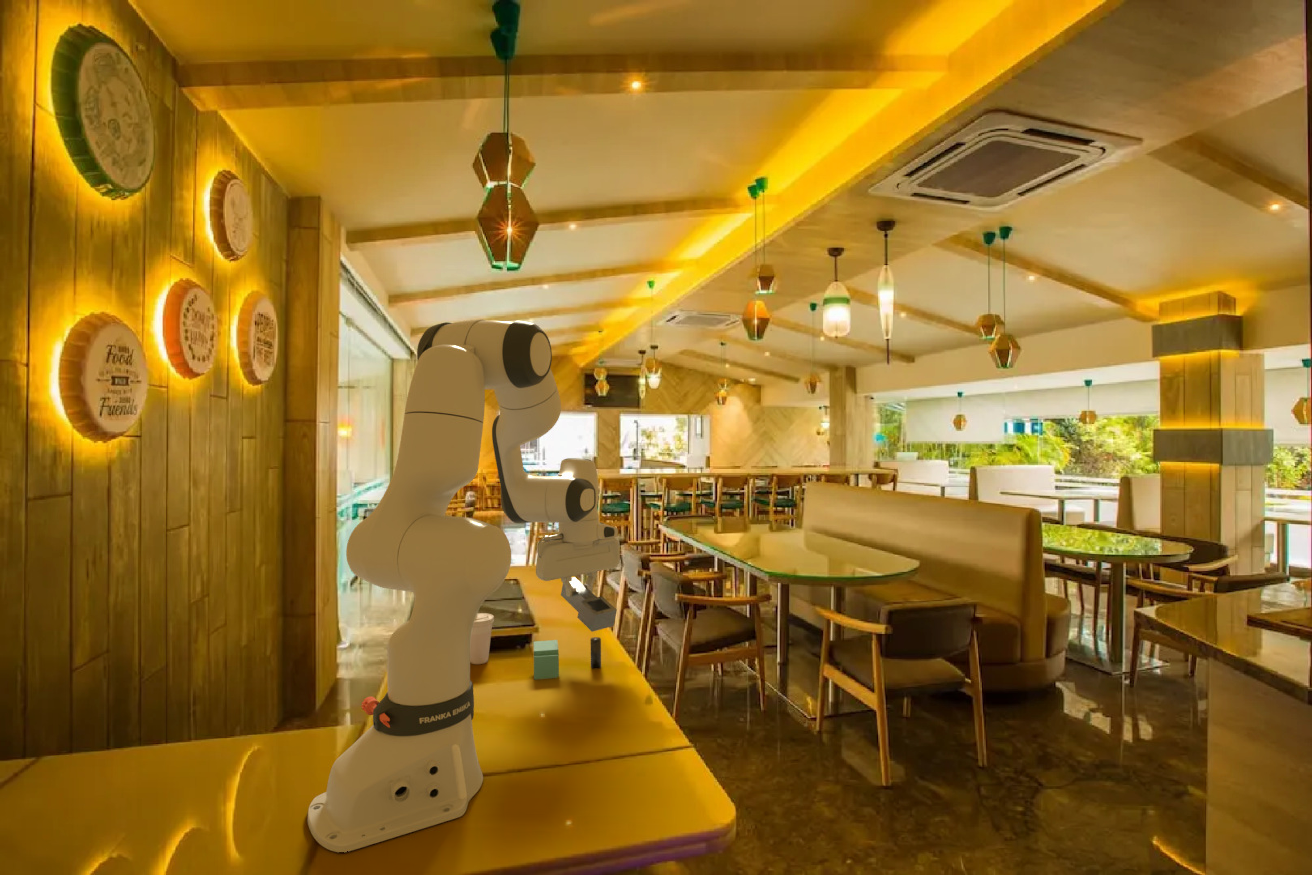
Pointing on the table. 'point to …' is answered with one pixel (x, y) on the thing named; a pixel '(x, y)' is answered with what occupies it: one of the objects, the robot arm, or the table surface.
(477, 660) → the smoothie
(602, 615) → the link
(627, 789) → the table surface
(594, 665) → the pintle
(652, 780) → the table surface
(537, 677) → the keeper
